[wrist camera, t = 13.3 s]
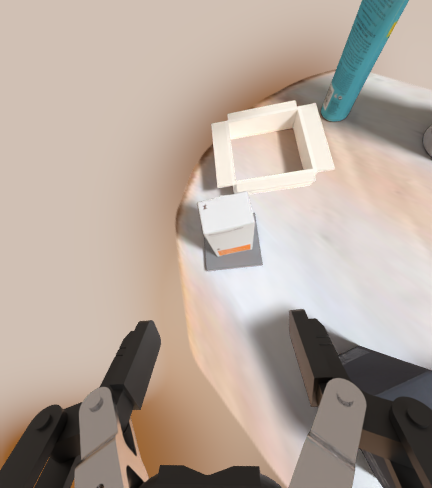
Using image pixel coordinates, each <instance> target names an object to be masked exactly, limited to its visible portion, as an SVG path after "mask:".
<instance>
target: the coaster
mask: <svg viewBox="0 0 432 488" xmlns="http://www.w3.org/2000/svg"><path fill="white" fill-rule="evenodd" d="M253 216H254V220H255V227H254V236H253V246H252V250H246V251H241V252H236V253H232V254H227V255H223V256H219V257H217V255H216V254H215V252H214V251H213V249H212V247H211V246H210V244H209V243H208V241H207V239H206V238H205V236H204V239H205V253H206V268H207V271H216V270H225V269H234V268H243V267H252V266H261V265H263V264H262V257H261V251H260V244H259V237H258V231H257V224H256V218H255V213H253Z"/></svg>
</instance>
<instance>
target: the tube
mask: <svg viewBox="0 0 432 488" xmlns="http://www.w3.org/2000/svg"><path fill="white" fill-rule="evenodd" d="M408 1H409V0H362V2H361V5H360V8H359V10H358V14H357V16H356V18H355V21H354V24H353V26H352V29H351V32H350V34H349V37H348V40H347V43H346V45H345V48H344V50H343V53H342V56H341V59H340V61H339V64H338V66H337V69H336V72H335V74H334V77H333V79H332V82H331V85H330V87H329V90H328V93H327V95H326V98H325V101H324V103H323V106H322V109H321V114H322V116H323V117H324V118H325V119H326V120H328V121H341V120H343V119H345V118H346V117H347V116H348V114H349V112H350V110H351V108H352V106H353V104H354V102H355V100H356V98H357V96H358V95H359V93H360V91H361V89H362V87H363V85H364V83H365V81H366V79H367V77H368V75H369V74H370V72H371V70H372V68H373V66H374V64H375V62H376V60H377V58H378V57H379V55H380V53H381V51H382V49H383V47H384V45H385V44H386V42H387V40H388V38H389V36H390V34H391V32H392V31H393V29H394V27H395V25H396V23H397V21H398V19H399V17H400V16H401V14H402V12H403V10H404V8H405V7H406V5H407V3H408Z"/></svg>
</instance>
